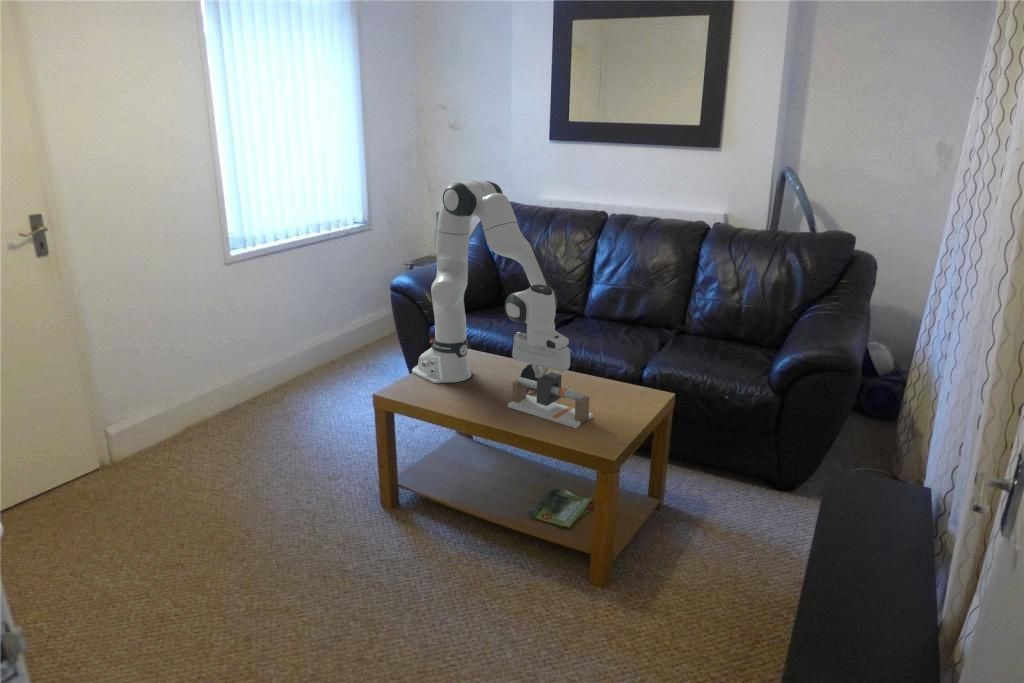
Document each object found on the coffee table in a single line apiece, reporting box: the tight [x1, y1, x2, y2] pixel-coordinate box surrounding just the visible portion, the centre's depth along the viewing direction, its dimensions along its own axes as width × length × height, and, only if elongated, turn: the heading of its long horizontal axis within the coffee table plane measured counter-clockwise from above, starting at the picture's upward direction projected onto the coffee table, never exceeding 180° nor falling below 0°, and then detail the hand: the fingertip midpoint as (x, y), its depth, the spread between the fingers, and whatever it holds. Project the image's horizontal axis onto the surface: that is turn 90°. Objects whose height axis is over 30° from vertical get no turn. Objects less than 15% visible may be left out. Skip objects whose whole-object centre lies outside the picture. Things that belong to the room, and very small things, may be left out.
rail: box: [507, 376, 594, 429], centre depth 225 cm, size 26×10×10 cm, turn 54°
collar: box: [536, 371, 562, 406], centre depth 224 cm, size 4×8×8 cm, turn 144°
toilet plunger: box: [519, 363, 539, 395], centre depth 243 cm, size 8×18×8 cm
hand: (540, 377), depth 225 cm, fingers closed
